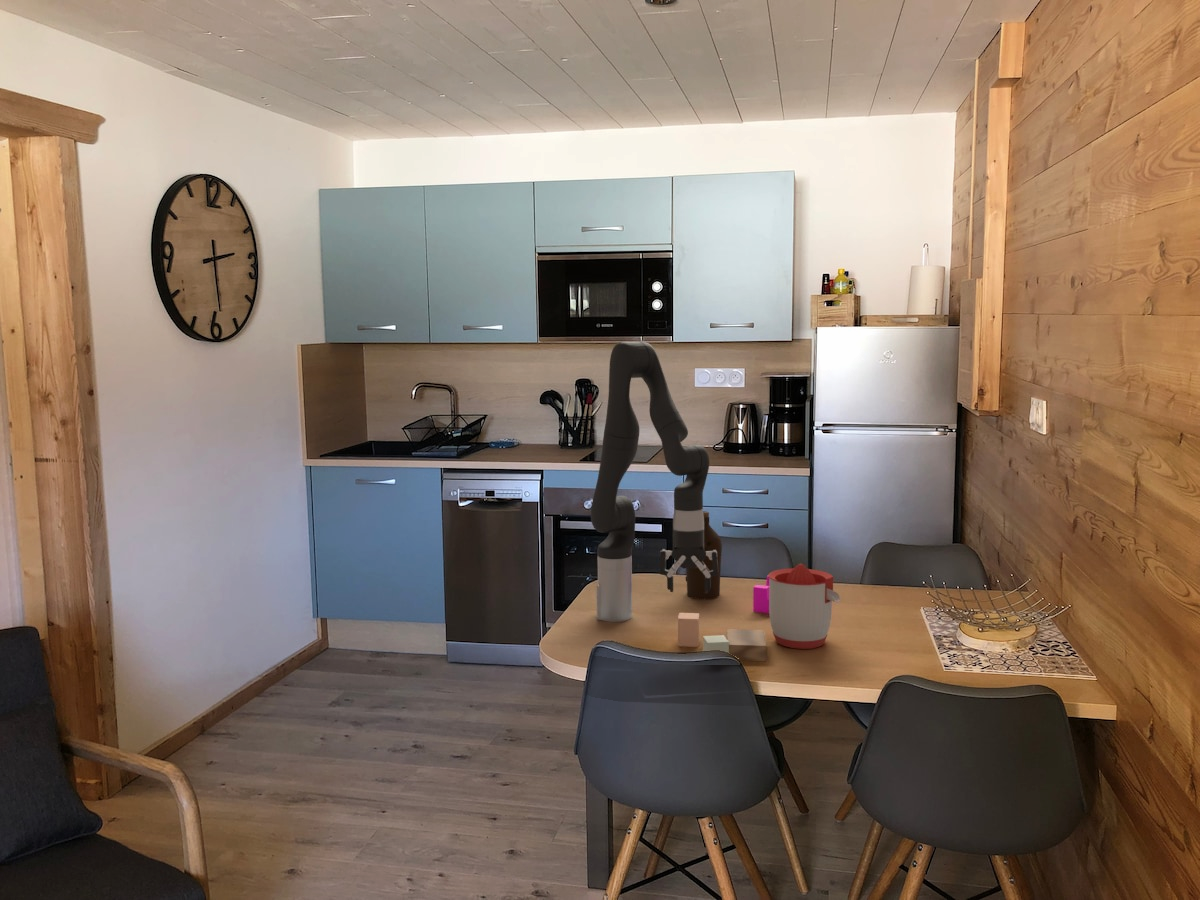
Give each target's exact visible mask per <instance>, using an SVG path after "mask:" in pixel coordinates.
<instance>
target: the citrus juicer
mask: <svg viewBox="0 0 1200 900" xmlns="http://www.w3.org/2000/svg"><path fill="white" fill-rule="evenodd" d="M767 576H768V577H769V613H768V614H769V621H770V626H771V629H772V634H773V636H774V639H775V642H776V643H777V644H779V645H781V646H784V647H787V648H791V649H802V650H804V649H805V650H811V649H816V648H820V647H821V646H823V645H824V644H825V641H826V639H827V637H828V634H829V633H828V632H829V630H830V627H831V626H830V625H831V621H832V611H833V610H832V608H833V607H832V605H833V603H832V602H834V603H839V602H840V600H841V598H840V594H839V593H838V592H837V591H835V590H834V576H833V575H832V574H830V573H828V572H826V571H823V570H817V569H811V568H807V566H806V565H804V564H803V563H798V564H797V565H796V566H795V567H793V568H792V567H791V568H781V569H775V570H773V571H771V572H769V574H768V575H767Z"/></svg>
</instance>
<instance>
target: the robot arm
mask: <svg viewBox="0 0 1200 900" xmlns="http://www.w3.org/2000/svg"><path fill="white" fill-rule="evenodd" d="M637 378H640V379H642V380H643V382H644V383H645V385H646V386H647V389H648V391H649V394H650V395H649V396H650V397H649V398H650V399H649V408H648V409H649V411H648V412H649V417H650V419H651V422H652V425H653V427H654V429H655V431H656V433H657V435H658V437H659V438H660V440H661V441H660V442H661V445H662V450H663V457H664V461H665V464H666V467H667V469H668V471H670V472H671V473H672V474H673V475H675V476H679V477H681V476H683V477H684V476H685V480H684V481H683V482H682V483H680V484H678V485H677V486H675V487H674V490H673V517H672V527H673V528H672V531H673V532H672V533H673V534H672V539H673V540H672V542H673V544H672V545H673V547H672V548H673V549H672V550H666V549H665V548H662V549H661V551H660V557H659V559H660V561H659V574H660V575H661V576H665V577H666V579H667V580H666V582H667V583H666V584H667V585H666V586H667V590H668V591H669V592H670V593H674V574H675V573H676V571H677V570H678V569H679V568H681V569H686V568H692V569H695V568H697V567H698V568H699V569H700V570H701V571H702V572H703V574H704V575H705V593H708V591H710V589H711V577H713V576H717V575H718V559H717V551H716V550H713V551H705V549H704V515H703V511H704V509H703V508H704V502H703V501H704V497H703V495H704V489H705V486H706V481H707V477H708V473H709V470H710V455H709V454H708V451H707V449H706V448H705V447H704V446H703V445H700V444H693V445H692V444H691V445H682V442H683V441H684V440H686V438H687V437H688V434H689V429H688V427H687V425H686V424H685V421H684V420H683V419H684V418H682V416H681V414H680V412H679V410H678V408H677V407H676V404H675V402H674V400H673V397H672V396H671V393H670V388H669V386H668V384H667V380H666V377H665V373H664V371H663V368H662V365H661V363H660V359H659V356H658V354H657V351H656V350H655V348H654V347H653V346H652V345H651V344H650V343H648V342H646V341H620V342H618V343H616V344H615V345H614V346H613V348H612V350H611V353H610V358H609V370H608V396H607V397H608V398H607V408H606V418H605V425H604V430H603V439H602V444H601V445H602V446H601V447H602V448H601V457H600V463H599V467H598V475H597V480H596V481H597V482H596V486H595V489H594V493H593V497H592V502H591V507H590V521H591V524H592V526H593V528H594V530H595V531H597V533H602V534H603V533H604V534H605V533H608V536H607V537H606V538H605V539H604V540H603V541H602V542H600V543H599V544H598V546H597V550H596V551H597V554H596V555H597V584H596V620H599V621H603V622H607V623H608V622H609V623H620V622H621V623H622V622H625V621H626V622H627V621H629V620H631V619H632V618H633V578H632V577H633V572H632V570H633V567H632V566H633V564H632V563H633V562H632V561H633V559H632V555H633V554H632V551H633V548H634V544H635V538H636V537H635V536H636V535H635V534H636V530H635V529H636V511H635V507H634V504H633V501H632V500H631V499H630V497H628V496H627V495H618V491H619V486H620V483H621V482H622V479H623V478H624V476H625V474H626V473H627V471H628V469H629V468H630V466H631V465H632V463H633V461H634V459H635V457H636V456H637V451H638V444H639V437H640V424H639V422H638V418H637V415H636V413H635V411H634V409H633V407H632V403H631V398H630V388H631V381H632V379H637ZM670 556H671V557H672V559H674V561H675V562H674V563H673V564H672V565H671V567H670V568H669V569H666V564H667V563H666V562H667V560H668V559H669V557H670ZM706 556H708V557H709V559H710V560H712V564H713V570H711V571H709V569H708V568H707V567H706V565H705V564H704V562H703V559H704V558H705V557H706Z"/></svg>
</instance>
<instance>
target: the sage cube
mask: <svg viewBox="0 0 1200 900" xmlns="http://www.w3.org/2000/svg"><path fill="white" fill-rule="evenodd" d="M710 650H720V651H725V652H728V653H729V641H728V640H727V636H726V635H724V634H720V635H719V634H718V635H703V636H702V652H703V651H710Z"/></svg>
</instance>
